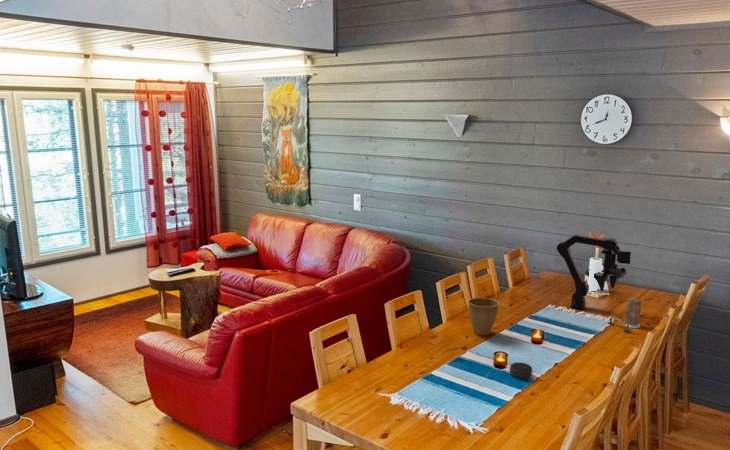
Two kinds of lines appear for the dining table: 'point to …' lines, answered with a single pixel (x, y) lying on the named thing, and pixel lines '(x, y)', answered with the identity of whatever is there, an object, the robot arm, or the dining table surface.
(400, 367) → the dining table surface
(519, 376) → the smart speaker
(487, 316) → the plant pot
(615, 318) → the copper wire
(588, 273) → the jar
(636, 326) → the pad
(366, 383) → the dining table surface
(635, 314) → the taupe upright block
